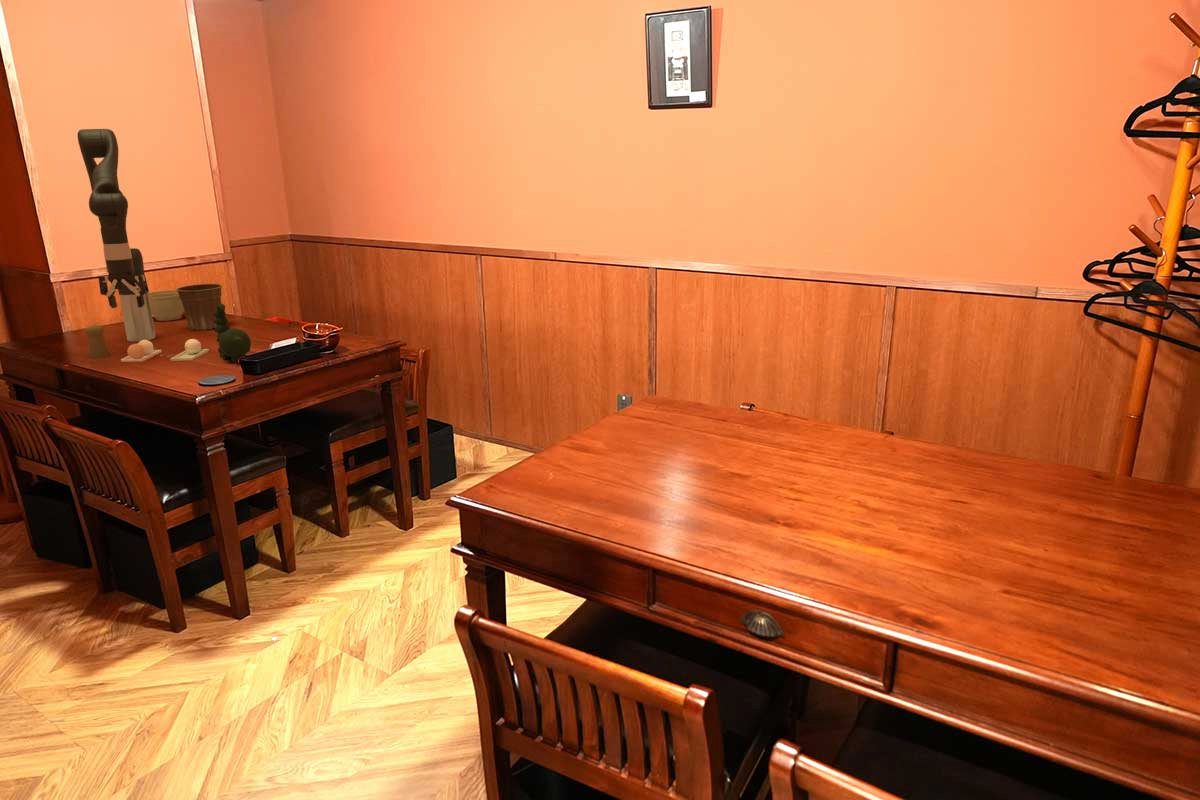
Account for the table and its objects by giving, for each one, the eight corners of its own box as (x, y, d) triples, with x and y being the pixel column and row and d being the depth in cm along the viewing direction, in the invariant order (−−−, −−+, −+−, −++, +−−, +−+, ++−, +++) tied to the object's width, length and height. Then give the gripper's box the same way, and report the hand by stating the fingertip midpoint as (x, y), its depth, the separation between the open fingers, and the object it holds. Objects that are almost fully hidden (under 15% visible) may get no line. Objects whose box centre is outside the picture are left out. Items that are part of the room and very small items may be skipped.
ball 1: (133, 357, 271) (130, 342, 270) (148, 356, 271) (146, 342, 270) (125, 360, 267) (123, 345, 265) (141, 360, 267) (138, 345, 265)
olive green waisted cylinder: (114, 355, 276) (108, 323, 273) (102, 359, 270) (95, 327, 267) (97, 355, 277) (91, 323, 273) (85, 359, 271) (78, 327, 268)
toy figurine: (211, 359, 276) (228, 367, 256) (201, 304, 272) (218, 308, 252) (240, 355, 281) (259, 362, 261) (231, 301, 277) (250, 304, 257)
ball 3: (189, 351, 278) (187, 337, 276) (204, 351, 278) (202, 337, 276) (183, 355, 273) (180, 340, 271) (198, 355, 273) (196, 340, 272)
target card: (163, 355, 276) (162, 352, 276) (180, 355, 276) (180, 351, 276) (151, 361, 268) (150, 357, 268) (169, 361, 269) (169, 357, 268)
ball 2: (142, 352, 277) (139, 338, 276) (157, 352, 277) (154, 338, 276) (135, 356, 272) (132, 341, 271) (150, 356, 272) (147, 341, 271)
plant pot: (185, 333, 309) (178, 291, 304) (180, 326, 322) (173, 286, 317) (231, 328, 318) (225, 287, 313) (224, 321, 331) (218, 282, 326)
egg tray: (141, 353, 278) (140, 350, 278) (161, 353, 278) (161, 349, 278) (121, 363, 266) (120, 359, 265) (143, 362, 266) (142, 359, 266)
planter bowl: (138, 322, 331) (133, 296, 328) (164, 315, 346) (160, 289, 343) (173, 323, 328) (169, 296, 325) (198, 315, 343) (194, 290, 340)
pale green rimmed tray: (188, 352, 279) (187, 349, 278) (209, 352, 279) (208, 348, 279) (170, 362, 266) (170, 358, 266) (192, 361, 266) (191, 358, 266)
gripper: (146, 255, 263) (155, 305, 268) (102, 256, 263) (111, 305, 267) (134, 258, 256) (143, 309, 261) (89, 259, 255) (99, 310, 260)
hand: (127, 307), depth 264 cm, fingers open, 8 cm apart
